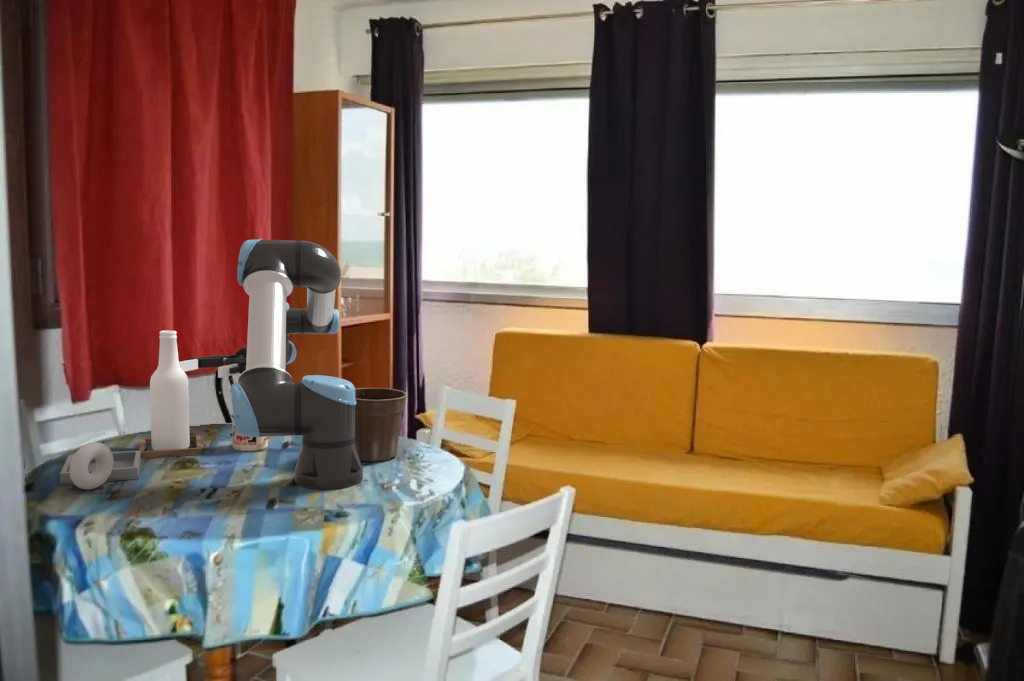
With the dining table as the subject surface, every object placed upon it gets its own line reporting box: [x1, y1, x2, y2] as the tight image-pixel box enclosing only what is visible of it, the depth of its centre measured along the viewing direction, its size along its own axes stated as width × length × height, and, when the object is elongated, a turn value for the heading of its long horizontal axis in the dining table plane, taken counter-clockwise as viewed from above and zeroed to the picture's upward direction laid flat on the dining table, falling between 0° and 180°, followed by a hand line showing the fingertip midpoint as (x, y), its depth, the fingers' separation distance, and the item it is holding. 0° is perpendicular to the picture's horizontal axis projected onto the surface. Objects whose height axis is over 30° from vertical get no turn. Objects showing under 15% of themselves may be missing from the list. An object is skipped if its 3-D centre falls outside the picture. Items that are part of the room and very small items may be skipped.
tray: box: [59, 450, 142, 486], centre depth 175 cm, size 15×15×2 cm
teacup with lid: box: [231, 412, 276, 452], centre depth 199 cm, size 12×9×12 cm
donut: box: [69, 441, 113, 491], centre depth 164 cm, size 10×4×10 cm, turn 161°
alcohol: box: [149, 329, 191, 451], centre depth 194 cm, size 9×9×30 cm
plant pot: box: [355, 387, 408, 463], centre depth 195 cm, size 16×16×16 cm
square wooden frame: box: [139, 434, 203, 460], centre depth 196 cm, size 14×14×2 cm
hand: (198, 369), depth 202 cm, fingers open, 13 cm apart
